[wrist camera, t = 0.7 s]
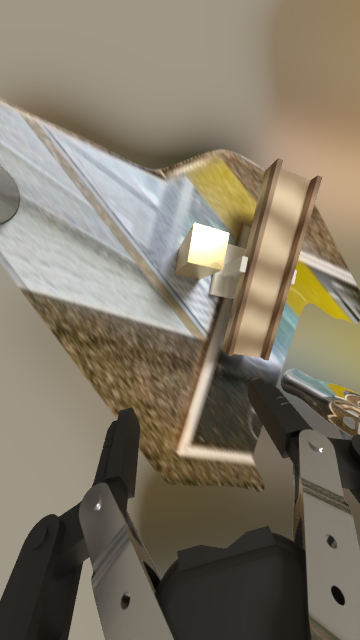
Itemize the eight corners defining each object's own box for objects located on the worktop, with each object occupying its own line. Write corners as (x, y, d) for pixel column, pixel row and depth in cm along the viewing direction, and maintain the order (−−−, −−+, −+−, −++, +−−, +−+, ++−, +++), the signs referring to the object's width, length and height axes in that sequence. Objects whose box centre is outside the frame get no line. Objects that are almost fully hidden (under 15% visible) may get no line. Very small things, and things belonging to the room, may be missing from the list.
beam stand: (268, 306, 37) (297, 307, 30) (209, 294, 34) (225, 292, 27) (278, 260, 36) (310, 250, 29) (218, 243, 33) (237, 228, 26)
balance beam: (258, 354, 33) (268, 360, 30) (221, 349, 31) (228, 355, 29) (305, 187, 28) (322, 177, 26) (264, 171, 27) (278, 158, 24)
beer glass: (308, 371, 41) (399, 410, 26) (296, 397, 41) (380, 451, 26) (286, 361, 39) (370, 398, 25) (274, 389, 39) (350, 441, 25)
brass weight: (199, 279, 33) (222, 270, 23) (174, 273, 32) (187, 261, 22) (204, 253, 33) (229, 233, 23) (179, 247, 31) (194, 222, 22)
